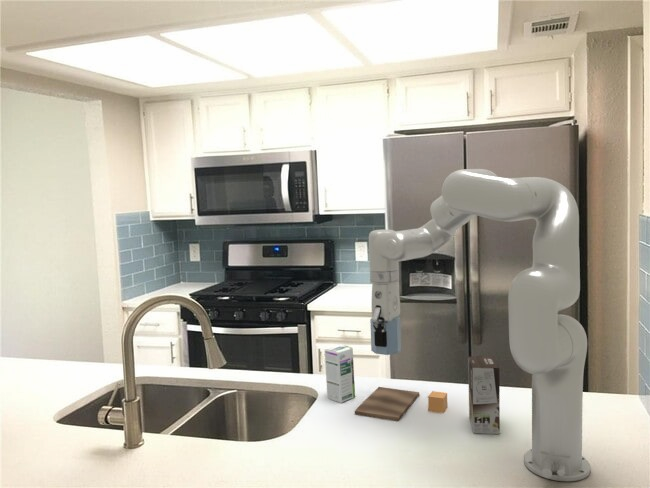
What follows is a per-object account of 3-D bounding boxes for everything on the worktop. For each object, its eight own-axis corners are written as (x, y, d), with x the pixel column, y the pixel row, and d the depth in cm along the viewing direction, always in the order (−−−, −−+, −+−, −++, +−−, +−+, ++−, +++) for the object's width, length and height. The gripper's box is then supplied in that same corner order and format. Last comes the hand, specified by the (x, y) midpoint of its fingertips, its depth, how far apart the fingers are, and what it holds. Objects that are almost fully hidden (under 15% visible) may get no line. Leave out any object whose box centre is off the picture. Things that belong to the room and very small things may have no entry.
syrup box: (341, 403, 150) (338, 352, 149) (326, 398, 154) (324, 348, 153) (355, 397, 154) (353, 347, 152) (340, 392, 158) (338, 343, 157)
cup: (395, 355, 142) (394, 321, 141) (368, 353, 145) (367, 319, 144) (404, 347, 148) (403, 315, 147) (378, 345, 151) (377, 313, 150)
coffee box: (500, 434, 128) (500, 367, 126) (472, 433, 129) (471, 367, 127) (495, 418, 137) (494, 355, 135) (468, 417, 138) (467, 355, 136)
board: (398, 421, 137) (398, 417, 137) (354, 414, 143) (354, 410, 143) (419, 395, 153) (419, 392, 153) (378, 390, 159) (378, 386, 159)
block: (443, 413, 141) (443, 398, 141) (428, 411, 143) (428, 396, 143) (447, 407, 145) (447, 392, 144) (432, 405, 147) (432, 391, 146)
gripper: (386, 283, 135) (388, 352, 137) (407, 271, 150) (409, 334, 152) (358, 281, 138) (360, 350, 140) (382, 271, 154) (384, 332, 156)
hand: (386, 341), depth 146 cm, fingers closed on cup, 7 cm apart
